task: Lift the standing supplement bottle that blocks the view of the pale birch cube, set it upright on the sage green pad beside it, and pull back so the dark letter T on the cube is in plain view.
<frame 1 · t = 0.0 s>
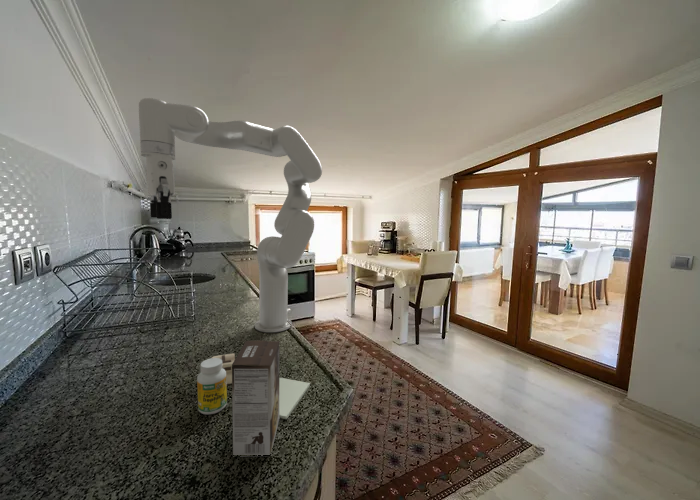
hand: (160, 218, 78), 37 cm above the countertop, tool pointing down, fingers open, 9 cm apart
sage pad: (274, 395, 64), on the countertop
letter cube: (223, 379, 70), on the countertop
supplement bottle: (212, 407, 60), on the countertop
coffee box: (257, 437, 53), on the countertop
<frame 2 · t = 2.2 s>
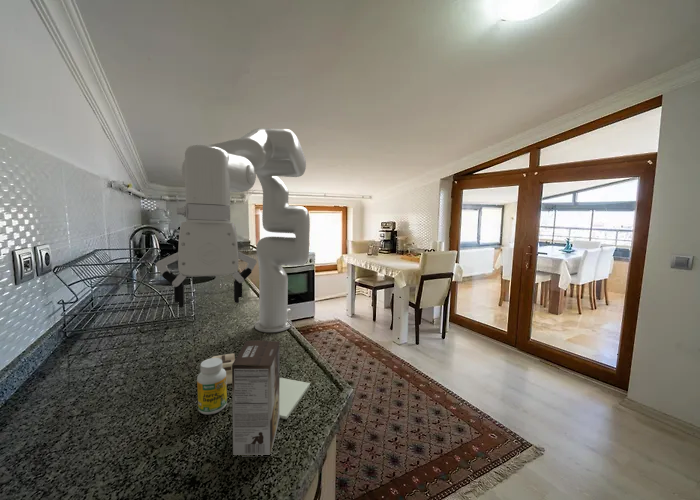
hand: (210, 303, 57), 22 cm above the countertop, tool pointing down, fingers open, 9 cm apart
nothing on the countertop moved.
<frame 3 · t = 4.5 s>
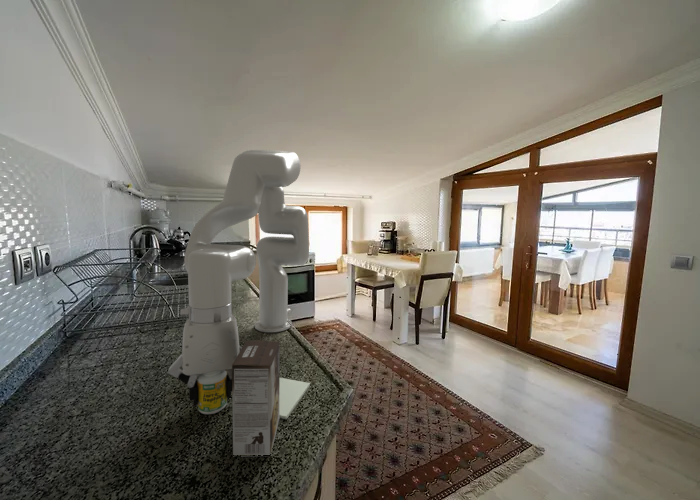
hand: (212, 397, 60), 2 cm above the countertop, tool pointing down, fingers closed on supplement bottle, 5 cm apart
supplement bottle: (212, 407, 60), on the countertop, touching gripper
everything else where it was.
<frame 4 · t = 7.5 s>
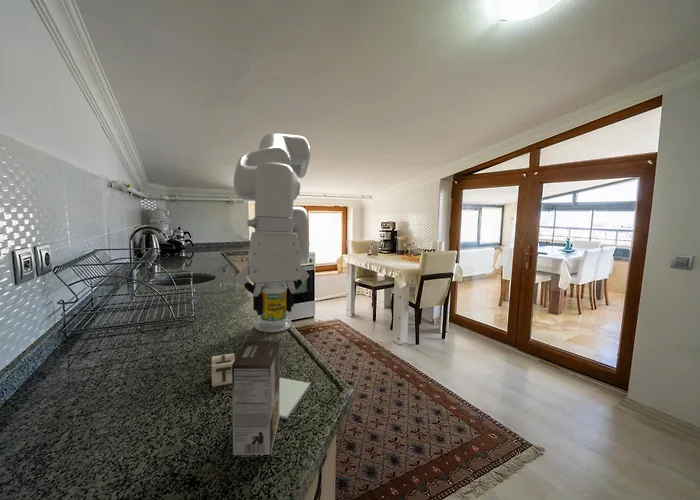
hand: (273, 310, 62), 19 cm above the countertop, tool pointing down, fingers closed on supplement bottle, 5 cm apart
supplement bottle: (273, 320, 63), point 17 cm above the countertop, touching gripper
everything else where it was.
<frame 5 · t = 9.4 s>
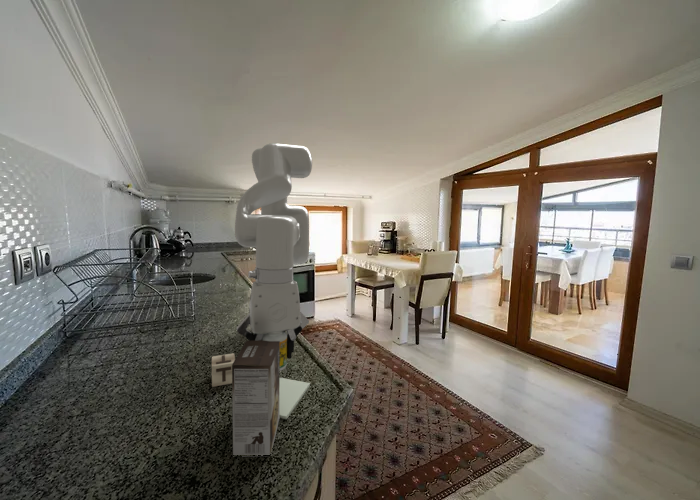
hand: (274, 357, 63), 9 cm above the countertop, tool pointing down, fingers closed on supplement bottle, 5 cm apart
supplement bottle: (274, 367, 63), point 7 cm above the countertop, touching gripper
everything else where it was.
when the fingers open (4 cm above the countertop, at t = 10.8 s): supplement bottle drops 1 cm, resting on sage pad.
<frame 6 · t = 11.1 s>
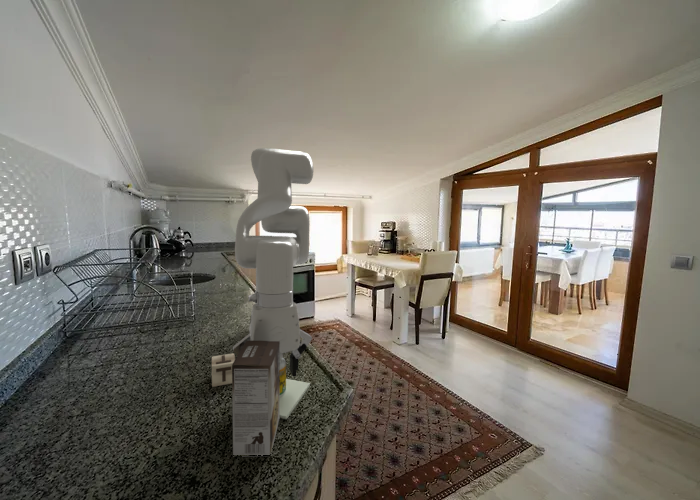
hand: (274, 376, 64), 4 cm above the countertop, tool pointing down, fingers open, 7 cm apart
supplement bottle: (273, 393, 64), resting on sage pad
everything else where it was.
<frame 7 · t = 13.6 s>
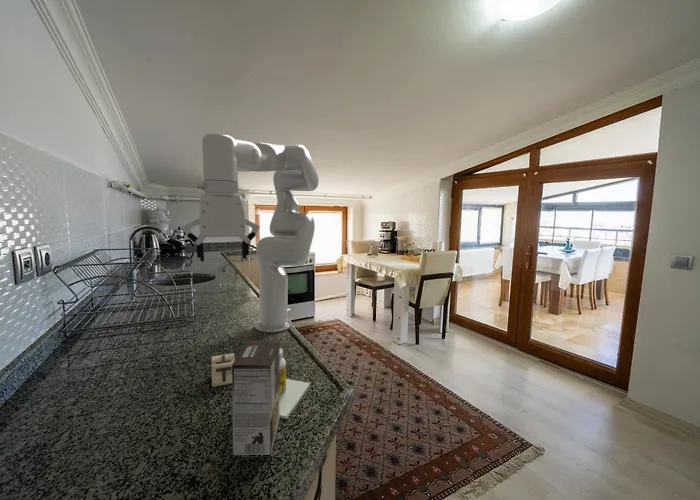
hand: (223, 259, 73), 28 cm above the countertop, tool pointing down, fingers open, 9 cm apart
nothing on the countertop moved.
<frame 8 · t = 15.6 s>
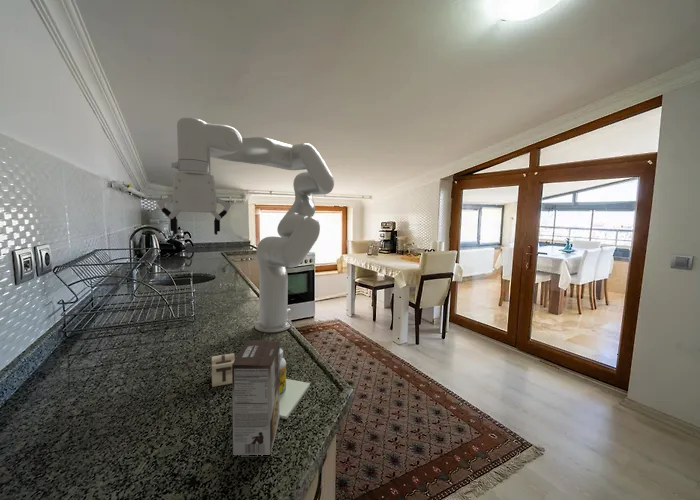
hand: (196, 234, 79), 33 cm above the countertop, tool pointing down, fingers open, 9 cm apart
nothing on the countertop moved.
at the end: supplement bottle inside the target area on the sage pad (0.2 cm from its centre), point 0.4 cm above the sage pad's base; supplement bottle tilted 0°; letter cube moved 0.1 cm from its start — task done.
